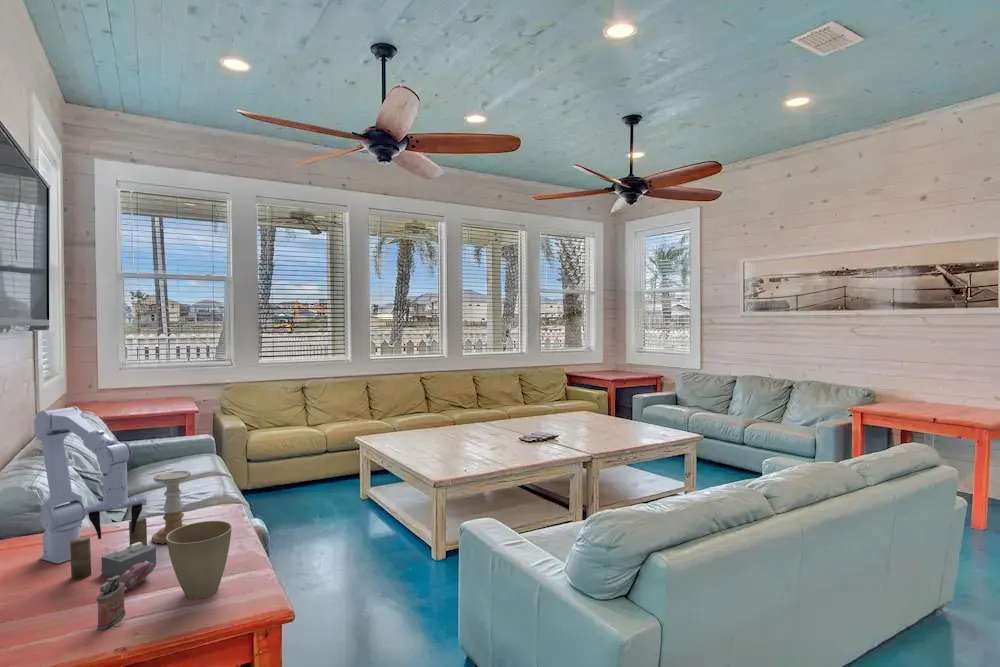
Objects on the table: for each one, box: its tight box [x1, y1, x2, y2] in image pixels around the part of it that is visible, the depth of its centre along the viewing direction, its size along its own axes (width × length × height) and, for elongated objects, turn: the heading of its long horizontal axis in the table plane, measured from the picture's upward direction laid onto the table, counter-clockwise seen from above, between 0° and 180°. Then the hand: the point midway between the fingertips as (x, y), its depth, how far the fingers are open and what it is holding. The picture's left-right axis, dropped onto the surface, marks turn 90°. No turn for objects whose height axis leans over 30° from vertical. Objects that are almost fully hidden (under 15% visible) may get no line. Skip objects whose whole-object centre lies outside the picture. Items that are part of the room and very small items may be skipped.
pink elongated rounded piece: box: [119, 561, 156, 590], centre depth 150 cm, size 10×5×7 cm, turn 169°
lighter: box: [95, 576, 126, 632], centre depth 132 cm, size 8×3×10 cm, turn 5°
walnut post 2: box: [128, 517, 148, 546], centre depth 170 cm, size 4×4×10 cm
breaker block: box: [101, 542, 157, 578], centre depth 160 cm, size 8×10×7 cm
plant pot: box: [166, 520, 233, 600], centre depth 146 cm, size 15×15×16 cm
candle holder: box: [151, 470, 192, 545], centre depth 183 cm, size 12×12×20 cm
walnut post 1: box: [70, 536, 92, 581], centre depth 156 cm, size 4×4×10 cm
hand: (116, 534), depth 160 cm, fingers open, 7 cm apart
